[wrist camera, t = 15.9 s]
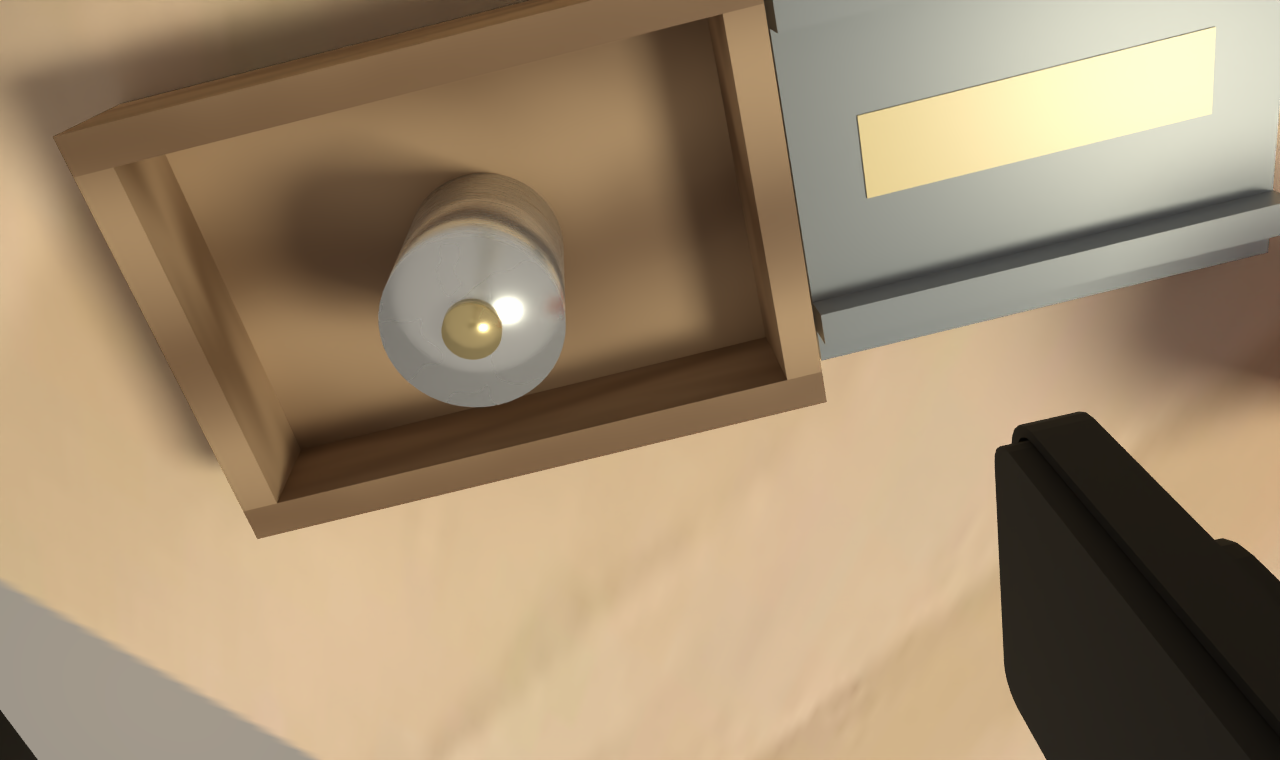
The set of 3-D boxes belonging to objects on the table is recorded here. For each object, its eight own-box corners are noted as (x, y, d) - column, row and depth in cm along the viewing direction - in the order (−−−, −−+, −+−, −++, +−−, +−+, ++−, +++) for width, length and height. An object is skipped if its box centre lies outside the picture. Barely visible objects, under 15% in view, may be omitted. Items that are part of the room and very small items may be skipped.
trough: (120, 104, 26) (52, 136, 23) (728, -51, 26) (757, -42, 22) (289, 466, 32) (257, 539, 28) (794, 344, 31) (826, 401, 28)
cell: (388, 193, 27) (347, 268, 22) (541, 156, 27) (537, 222, 22) (437, 332, 29) (411, 433, 24) (579, 299, 29) (585, 391, 24)
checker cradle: (746, -55, 26) (765, -50, 24) (1263, -187, 25) (1332, -195, 23) (810, 340, 31) (830, 375, 29) (1236, 237, 31) (1290, 263, 29)
